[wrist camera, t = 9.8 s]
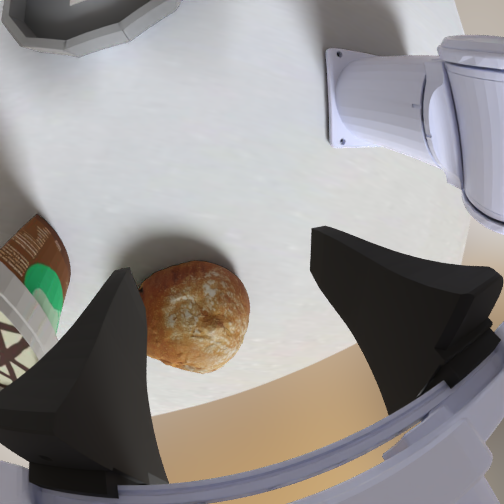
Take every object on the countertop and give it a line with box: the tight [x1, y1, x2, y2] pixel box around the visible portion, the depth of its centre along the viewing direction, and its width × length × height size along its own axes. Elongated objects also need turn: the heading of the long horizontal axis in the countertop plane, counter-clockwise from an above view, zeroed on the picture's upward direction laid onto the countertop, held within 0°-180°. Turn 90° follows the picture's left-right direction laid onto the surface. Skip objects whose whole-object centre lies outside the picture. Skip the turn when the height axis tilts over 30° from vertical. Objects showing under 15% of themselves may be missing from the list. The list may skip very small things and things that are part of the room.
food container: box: [0, 214, 71, 391], centre depth 14 cm, size 12×6×10 cm, turn 138°
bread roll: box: [138, 261, 250, 374], centre depth 22 cm, size 10×10×8 cm
